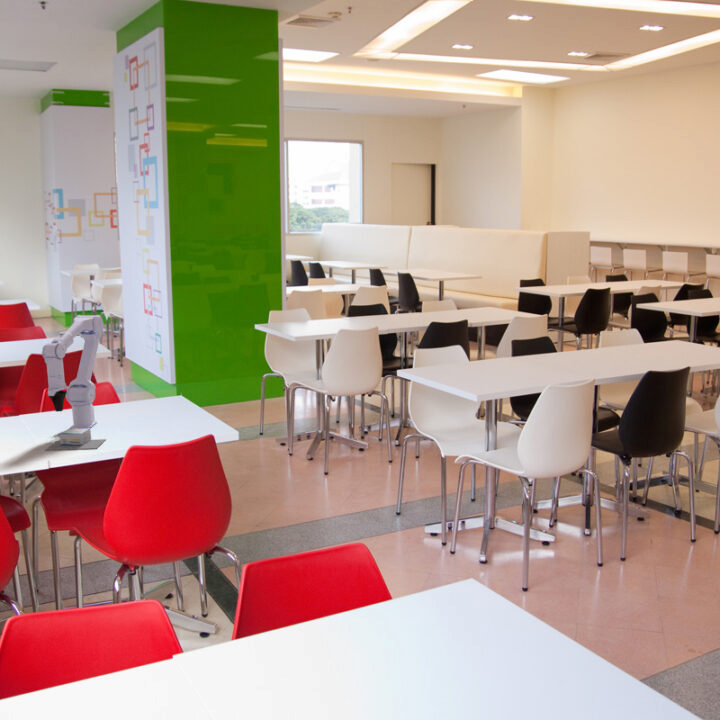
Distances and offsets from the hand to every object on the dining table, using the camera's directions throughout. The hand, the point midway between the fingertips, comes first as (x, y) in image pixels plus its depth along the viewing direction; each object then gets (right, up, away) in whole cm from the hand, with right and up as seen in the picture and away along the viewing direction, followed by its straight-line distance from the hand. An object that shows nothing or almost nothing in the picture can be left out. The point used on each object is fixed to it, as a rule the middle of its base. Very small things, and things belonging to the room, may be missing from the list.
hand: (59, 411), depth 310 cm
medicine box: (+10, -8, -6) cm, 14 cm away
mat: (+11, -11, -13) cm, 20 cm away
